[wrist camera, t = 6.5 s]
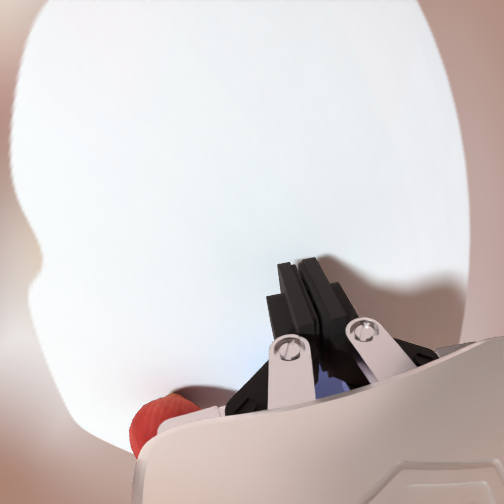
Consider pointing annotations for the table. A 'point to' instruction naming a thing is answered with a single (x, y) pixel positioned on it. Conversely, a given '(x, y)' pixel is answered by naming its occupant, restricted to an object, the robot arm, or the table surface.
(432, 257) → the table surface
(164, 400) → the onion
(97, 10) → the table surface
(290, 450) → the robot arm
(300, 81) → the table surface
